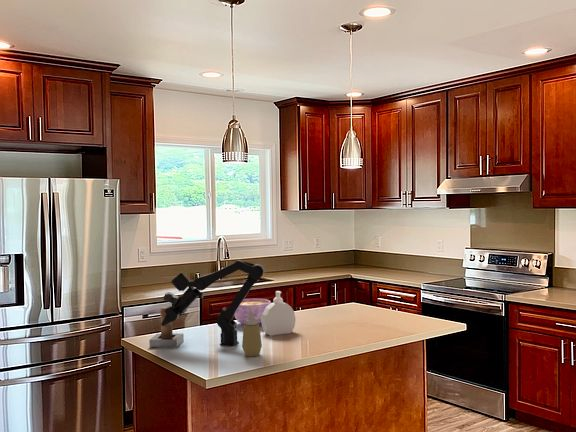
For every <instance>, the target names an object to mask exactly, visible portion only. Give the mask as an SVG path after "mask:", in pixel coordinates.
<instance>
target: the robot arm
mask: <svg viewBox="0 0 576 432" xmlns="http://www.w3.org/2000/svg"><path fill="white" fill-rule="evenodd" d="M265 269H266V268H265V266H264V265H263V264H260V263H256V264H254V263H252V262H248V261H245V260H243V259H238V260H236V261H234V262H233V263H231V264H229V265H226V266H225V267H223V268H221V269H219V270H216V271H214V272H211V273H208V274H207V273H206V274H205V275H201V276H199V277H198V278H195V279H191V280H190V278H188V277H187V276H186V275H185V273H184V272H182V271H181V272H180V273H179V274H178V275H177V276H176V277H174V278H173V279H172V280H171V282H170V283H171V285H172V286H173V287H174V288H175V289H177V290H178V291H179V292H183V293H182V294H181V295H180V296H178V295H176V294H174V293H172V292H170V291H167V292H166V293H165V294H164V295H163V299H162V300H163V301H165V302H168V303H170V304H171V306H170V305H169V306H167V307H168V308H167V309H166V310H165V313H166V316H165V318H164V320H163V322H162V323H161V322H160V326H161V325H162V326H164V325H166V324H168V323H170V322H172V323H173V322H175V321H176V320H178V318H179V317H182V315H184V314H185V313H186V312H187V311H188V308H189V307H190V306H191V305H192V304H193V303H194V301H196V300H197V298H199V299H203V298H204V290H206V289H207V288H208V287H210V286H211V285H213V284H214V283H215V282H216V281H218V280H220V279H222V278H224V277H226V276H228V275H231V274H233V273H235V272H237V271H242V272H244V273H246V274H247V277H246V280H245V282H244V283H243V284H242V286H241V288H240V289H239V291H238V292H237V293H236V295H235V297H234V298H233V300H232V301H231V303H230V304H229V306H228V307H226V306H224V307H223V308H222V309H221V310H220V313H218V314H217V316H216V317H217V319H216V325H217V326H218V327H219V328H220V329H221V331H220V332H221V333H220V342H219V346H227V347H228V346H229V347H233V346H235V345H238V344H240V342H239V341H238V329H236V328H237V325H238V322H236V321H235V320H234V318H235V316H234V315H235V312H236V310H237V308H238V307H239V305H240V304H241V302H242V301H243V299H246V296H247V295H248V294H249V292H250V290H251V288H252V287H253V286H254V285H255V284H256V283H257V282H258V281H259V280H260V279H261V278H262V277H263V275H265V272H266V270H265Z"/></svg>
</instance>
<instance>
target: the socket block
mask: <svg viewBox="0 0 576 432" xmlns="http://www.w3.org/2000/svg"><path fill="white" fill-rule="evenodd" d="M184 336H185V335H184V333H177V332H176V333H173V338H161V333H156V334H155V335H154V336H152V337H151V338H150V339H149V342H148V343H149V348H150V347H157V348H156V349H163V348H164V347H168V348H167V349H169V348H170V347H177V348H178V347H180V345H181V344H183V342H185V341H184ZM161 347H163V348H161ZM164 349H165V348H164Z"/></svg>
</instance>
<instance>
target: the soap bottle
mask: <svg viewBox="0 0 576 432" xmlns="http://www.w3.org/2000/svg"><path fill="white" fill-rule="evenodd" d="M281 294H283V293H282V291H280V290H276V291H275V297H274V298H273V299H272V300H273V302H270V304H269V305H268V306H267V307H266V308H265V310H264V312H263V314H262V320H261V323H260V324H261V328H262V330H263V332H264V333H265V334H266V335H268V336H270V337H272V336H279V335H285V334H292V333H293V331H294V329H295V325H296V313H295V311H294V309H293V307H292V306H290V304H288V303H286V302H284V299H283V297H281Z"/></svg>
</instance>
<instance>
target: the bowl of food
mask: <svg viewBox="0 0 576 432" xmlns="http://www.w3.org/2000/svg"><path fill="white" fill-rule="evenodd" d="M270 303H271V300H269V299H266V298H244V299H243V301H242V302H241V304H240V305H239V307H238V308H237V310H236V312H235V315H234V318H235V320H236V321H237V323H240V324H242V325H243V326H245V325H246V320H247V319H248V318H249V312H250V311H253V315H254V319H256V320H257V325H259V326H260V324H262V323H261V320H262V314H263V312H264V310H265V308H266V307H267V306H268V305H269V304H270Z"/></svg>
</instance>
